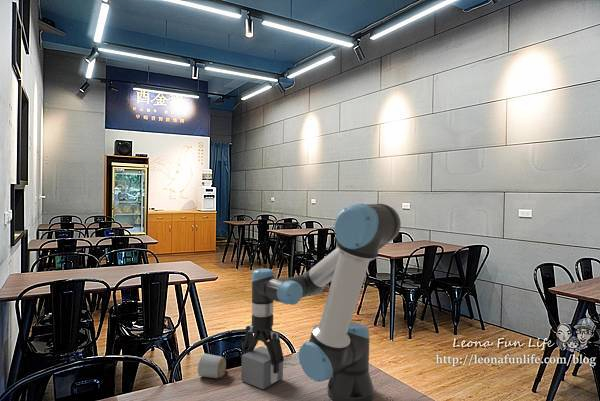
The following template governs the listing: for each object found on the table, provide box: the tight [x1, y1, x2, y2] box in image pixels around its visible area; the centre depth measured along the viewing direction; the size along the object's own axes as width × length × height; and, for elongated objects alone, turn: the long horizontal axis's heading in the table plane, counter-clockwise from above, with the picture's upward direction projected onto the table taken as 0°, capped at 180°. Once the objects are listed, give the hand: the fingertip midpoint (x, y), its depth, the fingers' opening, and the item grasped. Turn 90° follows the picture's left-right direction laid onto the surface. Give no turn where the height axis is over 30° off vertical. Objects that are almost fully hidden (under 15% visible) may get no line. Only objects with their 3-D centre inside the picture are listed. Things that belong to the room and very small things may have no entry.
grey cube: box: [240, 346, 284, 390], centre depth 139 cm, size 10×10×9 cm
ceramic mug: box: [197, 353, 227, 379], centre depth 143 cm, size 11×8×8 cm
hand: (262, 377), depth 139 cm, fingers closed on grey cube, 10 cm apart
